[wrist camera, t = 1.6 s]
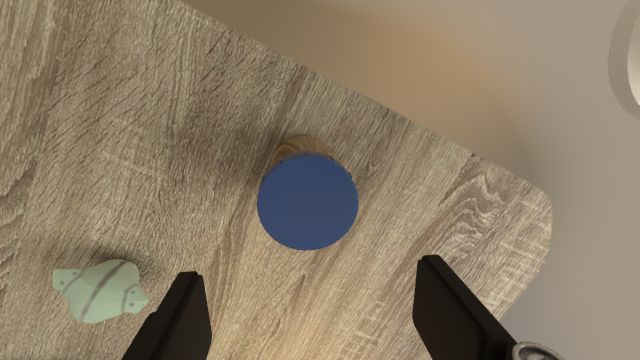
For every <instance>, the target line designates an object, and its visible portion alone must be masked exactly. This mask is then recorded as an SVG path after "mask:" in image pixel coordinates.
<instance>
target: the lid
mask: <svg viewBox="0 0 640 360" xmlns="http://www.w3.org/2000/svg"><path fill="white" fill-rule="evenodd" d="M358 205H359V201H358V193H357V189H356V186H355V184H354V182H353V180H352V176H351V174H350V173H349V172H347V171H346V169H345V168H344V167H343V166H342V165H341V164H340V163H339V162H338V161H337V160H335V159H334V158H333V157H332V156H328V155H326V154H323V153H320V152H315V151H307V150H305V151H300V152H296V153H292V154H289V155H287V156H285V157H283V158H282V157H281V158H280V160H278V161H277V162H276V163H275V164H274V165H273V166H272V167H271V168H270V169H269V170H268V172H267V173H266V175H264V176H263V179H262V184H261V187H260V190H259V194H258V200H257V209H258V215H259V218H260V221H261V223H262V225H263V227H264V229H265V230H266V231H267V233H268V234H269V235H270V236H271V237H272V238H273V239H274V240H276V241H277V242H279V243H280V244H282V245H284V246H287V247H289V248H292V249H297V250H317V249H321V248H324V247H327V246H329V245H331V244H333V243H335V242H336V241H338V240H339V239H341V238H342V237H343V236H344V235H345V234H346V233H347V232H348V231H349V229H350V228H351V226H352V225H353V223H354V221H355V218H356V216H357V212H358Z"/></svg>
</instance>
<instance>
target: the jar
mask: <svg viewBox="0 0 640 360" xmlns="http://www.w3.org/2000/svg"><path fill="white" fill-rule="evenodd" d="M305 150H307V151H315V152H320V153H323V154H326V155H328V156H332V157H333V158H334V159H335V160H336V158H335V157H334V155H333V153H332V152H331V150H330V149H329V147H328V146H327V145H326V144H325V143H324V142H323V141H321V140H320V139H318V138H316V137H313V136H309V135H298V136H293V137H291V138H289V139H287V140H285V141H284V142H282V143H281V144H280V145H279V146H278V148H277V149H276V151H275V152H274V155H273V157H272V161H271V165H270V168H271V167H272V166H273V165H274V164H275V163H276V162H277V161H278V160H280V158H281V157H282V158H283V157H285V156H287V155H289V154H292V153H296V152H300V151H305ZM270 168H269V169H270Z"/></svg>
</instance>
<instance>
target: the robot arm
mask: <svg viewBox="0 0 640 360" xmlns="http://www.w3.org/2000/svg"><path fill="white" fill-rule="evenodd" d="M412 318H413V323H414V325H415V327H416V329H417V331H418V333H419V335H420V337H421V339H422V341H423V342H424V344H425V346H426V348H427V350H428V352H429V354H430V356H431V358H432V360H565V359H564V358H563V357H562V356H561V355H559V354H558V353H557V352H555V351H553V350H552V349H550V348H548V347H546V346H543V345H541V344H538V343H533V342H520V343H517V342H516V341H515V340H514V339H513V338H512V337H511V335H510V334H509V333H508V332H507V331H506V330H505V329H504V328H503V326H502V325H501V324H500V323H499V322H498V321H497V320H496V319H495V317H494V316H493V315H492V314H491V313H490V312H489V311H488V310H487V308H486V307H485V306H484V305H483V304H482V303H481V302H480V301H479V299H478V298H477V297H476V296H475V295H474V294H473V293H472V292H471V290H470V289H469V288H468V287H467V286H466V285H465V284H464V283H463V281H462V280H461V279H460V278H459V277H458V276H457V275H456V274H455V272H454V271H453V270H452V269H451V268H450V267H449V266H448V265H447V263H446V262H445V261H444V260H443V259H442V258H441V257H440V256H439V255H425V256H423V257H422V259H421V260H418V264H417V274H416V284H415V294H414V303H413V313H412ZM211 340H212V331H211V325H210V318H209V312H208V306H207V299H206V293H205V287H204V280H203V276H202V275H198V273H197V272H196V271H191V272H180V273H179V274H178V275H177V277H176V279H175V280H174V282H173V284H172V285H171V287H170V289H169V290H168V292H167V294H166V295H165V297H164V299H163V300H162V302H161V304H160V306H159V307H158V309H157V311H156V312H152V313H151V314H150V315H149V316H148V317H147V319H146V320H145V322H144V323H143V325H142V327H141V328H140V330H139V332H138V333H137V335H136V336H135V338H134V340H133V341H132V343H131V345H130V346H129V348H128V349H127V351H126V353H125V354H124V356H123V358H122V359H121V360H206V358H207V355H208V351H209V348H210V345H211Z"/></svg>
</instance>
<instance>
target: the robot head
mask: <svg viewBox="0 0 640 360" xmlns="http://www.w3.org/2000/svg"><path fill="white" fill-rule="evenodd" d="M52 288H54V289H56V290H58V291H60V292H62V293H63V294H64V296H65V298H66V300H67V302H68V305H69V308H70V311H71V314H72V317H74V318H75V319H77V320H79V321H80V322H82V323H93V324H94V323H97V322H100V321H103V320H106V319H109V318H112V317H115V316H118V315H121V314H124V313H136V314H138V313H139V311H140V310H141V309H142V308H143V307H144V306H145V305H146V304H147V303H148V302H149V301H150V299H149V298H148V297H147V295H146V294H145V293H144V291H143V290H142V289H141V287H140V284H139V272H138V269H137V266H136V265H134V264H133V263H131V262H129V261H126V260H120V259H114V260H108V261H106V262H103V263H101V264H98V265H96V266H93V267H86V268H75V269H53V281H52Z"/></svg>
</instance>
